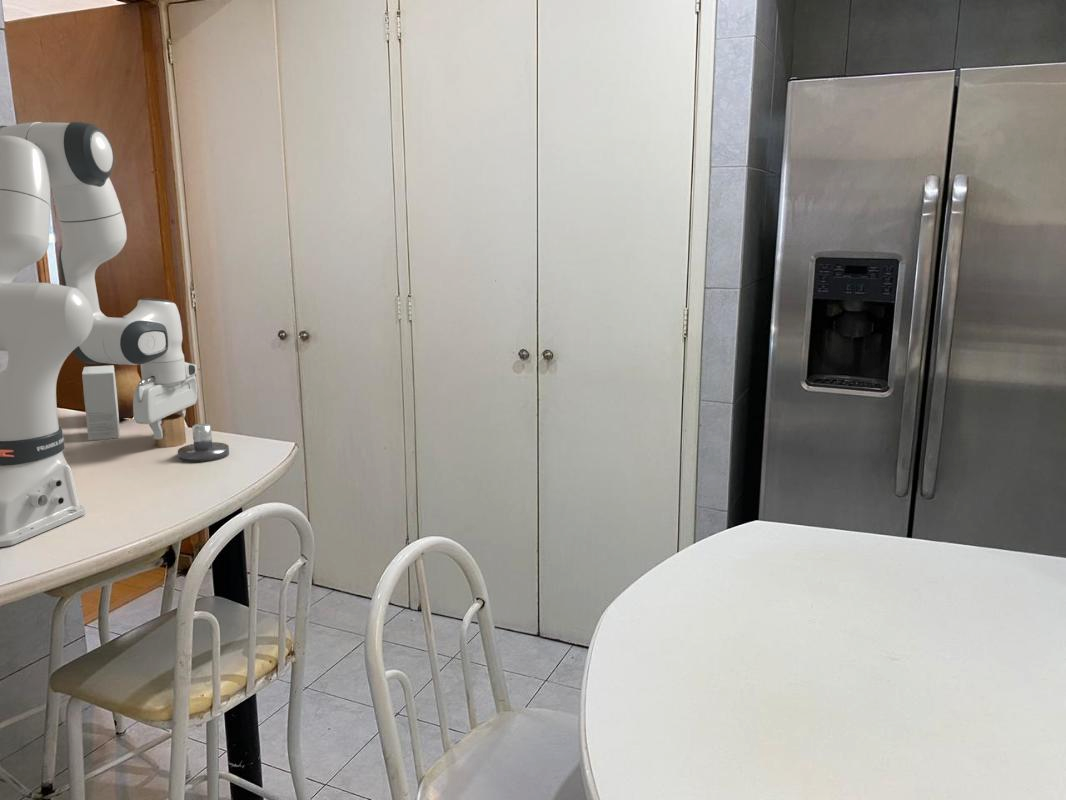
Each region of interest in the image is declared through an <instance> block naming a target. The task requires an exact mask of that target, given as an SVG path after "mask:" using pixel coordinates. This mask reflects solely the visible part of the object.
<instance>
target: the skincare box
mask: <svg viewBox="0 0 1066 800" xmlns="http://www.w3.org/2000/svg"><path fill="white" fill-rule="evenodd" d="M81 376H82V377H81V378H82V385H83V386H82V388H83V389H82V391H83V390H84V400H85V406H84V407H85V418H86V419H85V420H86V428H87V439H88V441H89V442H91V441H92V442H94V441H101V440H104V441H105V440H113V439H112V438H115V439H119V438H120V420H119V413H118V401H117V390H116V380H115V372H114V365H109V366H92V367H86V366H84V367H83V370H82V372H81Z"/></svg>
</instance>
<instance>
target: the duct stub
mask: <svg viewBox="0 0 1066 800" xmlns="http://www.w3.org/2000/svg"><path fill="white" fill-rule="evenodd" d="M191 427H192V428H191V429H192V439H193V443H191V444H188V445H183V446H182V447H180V448H178V449H177V457H178V458H177V459H178V460H179V461H181V462H185V463H208V462H214V461H219V460H222V459H224V458H226V457H228V456H229V454H230V446H229V444H226V443H223V442H219V441H218V442H217V441H214V442H213V437H212V424H210V423H196V424H194V425H192V426H191Z"/></svg>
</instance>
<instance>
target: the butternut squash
mask: <svg viewBox="0 0 1066 800" xmlns="http://www.w3.org/2000/svg"><path fill="white" fill-rule="evenodd" d="M109 365H114V372H115V380H116V390H117V401H118V413H119V421H120V420H125V419H128V418H129V417H130V416H131V415H133V396H134V391H135V390H136V387H137V386H138V384H139V381H141V380H142V378H141V377H140V374H139V373H138V365H127V364H110V363H101V364H88V363H85V367H92V366H109ZM140 386H141V385H140ZM82 400H83V405H84V407H85V400H84V390H83V389H82Z"/></svg>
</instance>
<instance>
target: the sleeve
mask: <svg viewBox="0 0 1066 800" xmlns="http://www.w3.org/2000/svg"><path fill="white" fill-rule="evenodd" d="M161 422H162V423H161V424H160V425H161V428H162V430H165V437H164V438H162V439H155V438H154V437H153V441H154V442H153V443H154V446H155V447H158V448H170V447H178V446H182V445H184V444H186V443H187V435H186V426H185V417H184V415H183V414H177V413H174V414H171V415H169V416H167V417H165V418H162V419H161Z"/></svg>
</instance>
